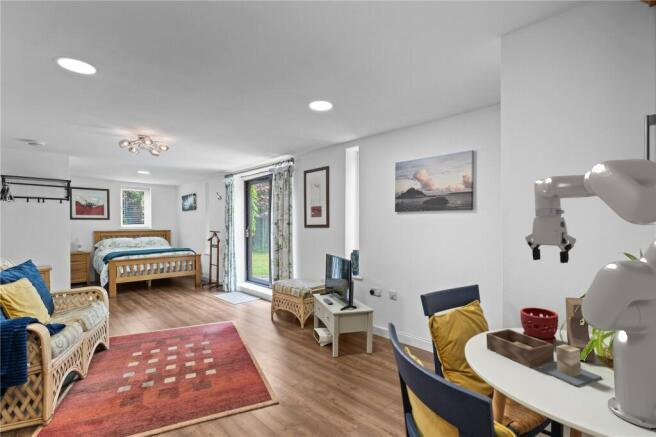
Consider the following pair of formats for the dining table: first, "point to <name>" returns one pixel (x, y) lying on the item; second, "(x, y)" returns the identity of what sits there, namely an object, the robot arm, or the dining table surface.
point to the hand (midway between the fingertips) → (549, 261)
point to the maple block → (568, 360)
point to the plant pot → (539, 323)
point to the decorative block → (577, 327)
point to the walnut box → (520, 347)
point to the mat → (575, 380)
